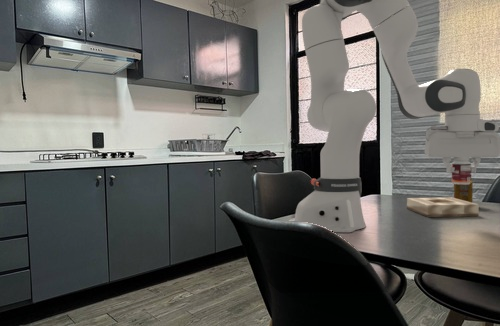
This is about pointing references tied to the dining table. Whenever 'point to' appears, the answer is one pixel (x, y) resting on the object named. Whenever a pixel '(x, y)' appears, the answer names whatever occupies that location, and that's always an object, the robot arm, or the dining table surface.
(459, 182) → the pill bottle
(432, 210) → the well block
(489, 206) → the dining table surface
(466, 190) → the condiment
